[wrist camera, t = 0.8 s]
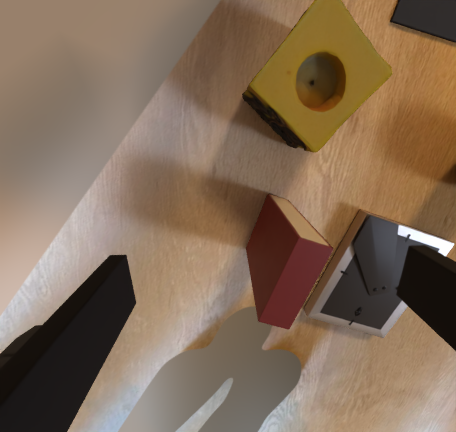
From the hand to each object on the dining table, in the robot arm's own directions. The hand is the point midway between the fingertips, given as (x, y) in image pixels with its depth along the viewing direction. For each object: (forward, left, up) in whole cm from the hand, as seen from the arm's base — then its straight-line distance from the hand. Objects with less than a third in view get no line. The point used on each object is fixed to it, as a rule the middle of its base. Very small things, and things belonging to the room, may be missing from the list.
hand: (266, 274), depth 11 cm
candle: (-6, +12, -25) cm, 29 cm away
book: (+9, 0, -25) cm, 27 cm away
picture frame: (+27, +11, -25) cm, 38 cm away
